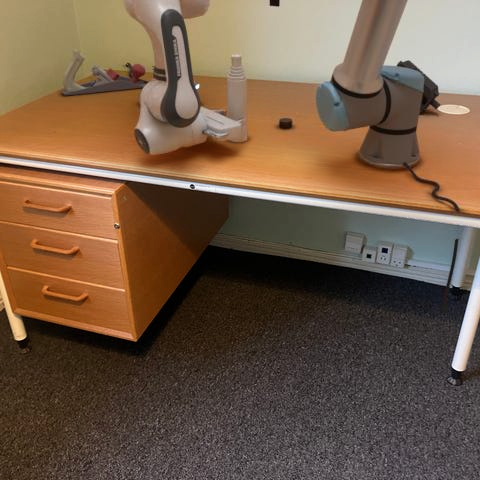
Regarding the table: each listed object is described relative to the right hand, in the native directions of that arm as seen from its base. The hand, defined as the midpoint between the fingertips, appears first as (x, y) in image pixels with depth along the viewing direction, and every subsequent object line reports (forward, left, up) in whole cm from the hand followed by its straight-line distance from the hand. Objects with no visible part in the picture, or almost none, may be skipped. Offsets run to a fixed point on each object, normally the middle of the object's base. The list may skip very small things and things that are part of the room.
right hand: (289, 2), depth 142 cm
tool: (+13, -41, -35) cm, 55 cm away
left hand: (-9, +16, -28) cm, 33 cm away
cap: (0, 0, -33) cm, 33 cm away
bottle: (-8, +15, -35) cm, 39 cm away
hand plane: (+46, +62, -35) cm, 85 cm away
